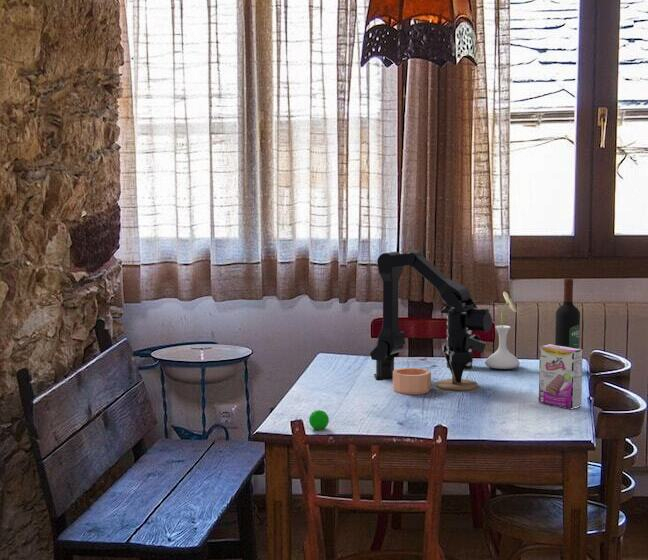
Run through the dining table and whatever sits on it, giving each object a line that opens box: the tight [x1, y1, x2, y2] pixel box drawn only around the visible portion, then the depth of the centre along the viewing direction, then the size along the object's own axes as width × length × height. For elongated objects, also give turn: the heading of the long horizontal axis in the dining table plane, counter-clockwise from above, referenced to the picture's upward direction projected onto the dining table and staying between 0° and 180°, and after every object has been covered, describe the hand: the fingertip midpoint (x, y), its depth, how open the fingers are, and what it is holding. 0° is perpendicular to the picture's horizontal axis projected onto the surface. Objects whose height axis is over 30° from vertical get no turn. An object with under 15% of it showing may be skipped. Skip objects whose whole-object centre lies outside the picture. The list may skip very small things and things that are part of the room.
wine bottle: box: [554, 278, 581, 349], centre depth 326 cm, size 8×8×30 cm
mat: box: [431, 380, 485, 394], centre depth 307 cm, size 14×14×1 cm
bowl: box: [392, 367, 432, 395], centre depth 303 cm, size 11×11×6 cm
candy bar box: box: [538, 343, 584, 409], centre depth 284 cm, size 11×5×16 cm, turn 44°
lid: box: [436, 371, 478, 391], centre depth 306 cm, size 12×12×6 cm
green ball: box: [308, 409, 330, 431], centre depth 262 cm, size 5×5×5 cm
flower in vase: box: [484, 291, 521, 370], centre depth 334 cm, size 13×11×25 cm
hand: (456, 380), depth 307 cm, fingers open, 6 cm apart
